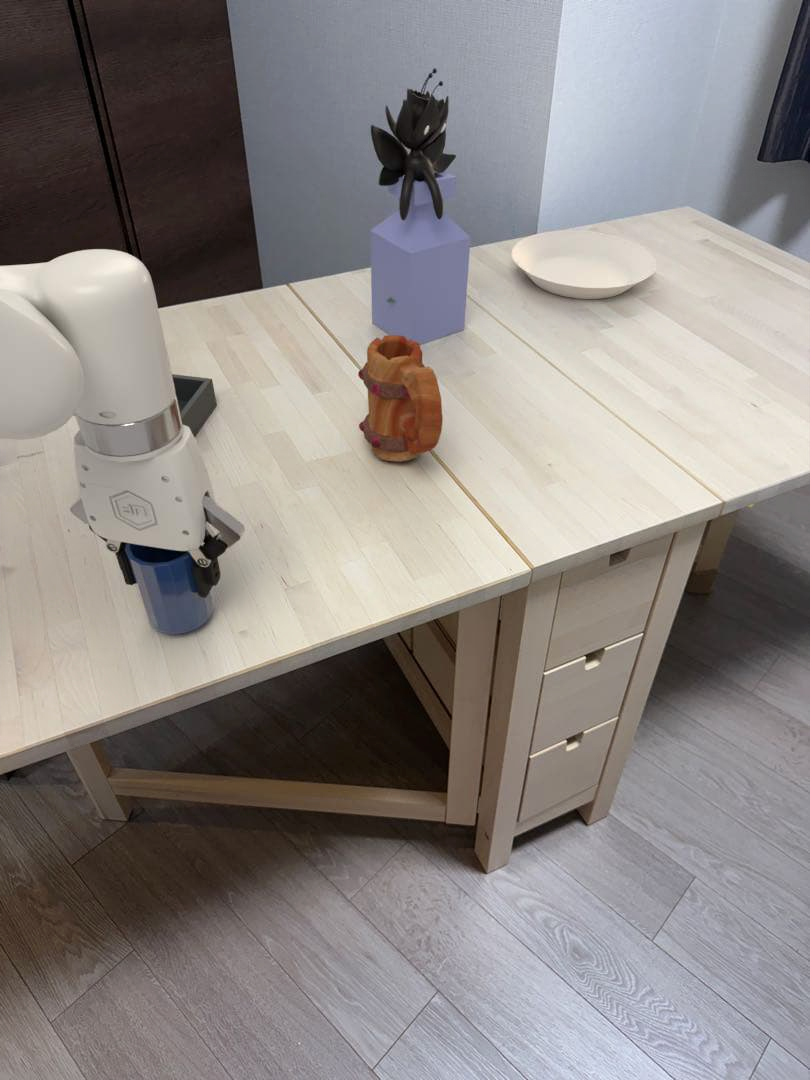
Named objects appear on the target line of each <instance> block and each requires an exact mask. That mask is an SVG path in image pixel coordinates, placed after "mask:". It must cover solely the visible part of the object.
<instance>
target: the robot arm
mask: <svg viewBox="0 0 810 1080" xmlns="http://www.w3.org/2000/svg"><path fill="white" fill-rule="evenodd" d="M160 315H161V314H160V311H159V306H158V301H157V296H156V292H155V287H154V283H153V280H152V276H151V274H150V272H149V270H148V268H147V267H146V265H145V264H144V263H143V261H141V260H140V259H139V258H137V256H134V255H132V254H130V253H128V252H125V251H121V250H117V249H108V248H94V249H93V248H91V249H82V250H76V251H72V252H68V253H66V254H62V255H60V256H57V257H55V258H53V259H52V260H49V261H47V262H38V263H28V264H11V265H0V439H4V440H14V441H15V440H16V441H22V440H33V439H37V438H41V437H44V436H47V435H50V434H52V433H54V432H56V431H57V430H59V429H60V428H61V427H63V426H65V425H66V424H67V423H68V422H69V421H70V420H71V419H72V417H75V419H76V422H77V425H78V428H79V430H77V432H76V434H74V438H73V441H74V442H73V449H74V467H75V473H76V479H77V485H78V489H79V493H80V496H79V497H78V498H77V499H76V501H75V502H74V503H73V504H72V505H71V507H69V511H70V512H71V514H72V515H73V516H75V517H76V518H77V519H79V521H81V522H83V524H85V525H88V528H89V530H90V531H91V532H92V533H94V534H95V535H96V536H97V537H99V538H100V539H101V540H103V541H104V542H105V547H106V549H107V551H109V552H110V553H115V557H116V559H117V563H118V565H119V569H120V571H121V574H122V576H123V579H124V582H125V585H127V586H134V585H136V584H135V581H134V577H133V574H132V571H131V568H130V565H129V561H128V558H127V555H126V552H125V545H126V543H131V544H137V545H143V546H150V547H156V548H163V549H169V550H177V551H188V552H189V553H190V555H191V556H192V557H193V559H194V560H195V562H194V564H193V566H192V571H193V575H194V580H195V584H196V588H197V592H198V595H199V596H200V597H204V598H206V597H207V596H208V594H209V592H210V590H211V589H213V587H216V586H217V585H218V583H219V581H220V579H221V568H220V564H219V559H218V558H219V557H220V556H221V555H223V554H225V552H226V550H228V549H229V548H231V547H232V546H233V545H235V544H236V543H237V542H238V541H240V539H241V538H242V536H243V534H244V532H245V531H246V527H245V525H244V524H242V522H240V521H239V520H238V519H236V518H235V517H234V516H233V515H231V514H230V513H229V512H228V511H227V510H225V509H224V508H223V507H222V506H220V505H219V504H217V503H216V498H215V494H214V490H213V485H212V482H211V478H210V476H209V475H210V474H209V472H208V468H207V465H206V462H205V460H204V457H203V454H202V451H201V449H200V447H199V445H198V443H197V440H196V438H195V437H194V436H193V434H192V432H191V430H190V428H189V427H188V426H185V425H183V424H182V420H181V416H180V411H179V406H178V401H177V397H176V392H175V387H174V382H173V377H172V374H173V373H172V367H171V363H170V358H169V354H168V349H167V348H168V347H167V343H166V339H165V334H164V330H163V324H162V320H161V316H160ZM210 525H211V526H212V527H213V528H214V529H215V530H217V531H218V533H217V534H215V532H214V530H213V529H212V528H211V526H210ZM201 544H202V545H201Z"/></svg>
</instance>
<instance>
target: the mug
mask: <svg viewBox="0 0 810 1080" xmlns="http://www.w3.org/2000/svg"><path fill="white" fill-rule="evenodd" d="M366 359H367V360H366V362H365V364H364V365H363V367H362V369H360V370H358V372H357V376H358V377H359V379H360V380H362V382H363V385H364V386H365V388H366V389H367V402H368V403H367V404H368V405H367V406H368V414H367V415H366V416H365V417H364V419H363V421H361V422H359V423H358V429H359V430H360V431H361V432H362V433H363V436H364V439H365V440H366V442H367V443H369V445H370V447H371V451H372V453H373V454H374V455H375V456H376V457H377V458H379V459H380V460H382V461H388V462H405V461H410V460H413V459H415V458H417V457H419V456H420V455H421V454H422V453H426V452H429V451H432V450H433V449H434V448H436V446H437V445H438V444H439V441H440V438H441V434H442V431H443V430H442V428H443V409H442V408H443V407H442V405H443V404H442V396H441V391H440V387H439V383H438V379H437V376H436V374H435V371H434V370H433V369H432V368H431V367H430V366H428V365H427V366H425V364H424V363H423V350H422V348H421V345H419V344H418V343H417V342H415V341H413V340H407V339H406V338H405V336H399V335H389V334H386V335H383V337H382V339H381V338H379V337H375V338H374V339H373V340H371V342H370V343H369V344H368V347H367V349H366Z"/></svg>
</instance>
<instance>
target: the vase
mask: <svg viewBox="0 0 810 1080" xmlns="http://www.w3.org/2000/svg"><path fill="white" fill-rule="evenodd" d="M437 72H438V70H437V68H436V67H435V68H433V69H432V72H429V73H428V74H427V75H428V76H427V77H426V79H425V80H424V83H423V85H422V87H421V91H418V90H417V89H413V88H406V98H405V99H403V100H402V105H401V108H400V111H399V113H398V116H397V119H396V121H395V120H394V117H393V116H392V114H391V112H390V108H389V107H388V105H385V109H384V110H385V111H384V112H385V117H386V120H387V124H388V127H389V129H390V131H391V133H392V134H391V133H390V132H388V131H386V130H385V129H383V128H381V127H378V126H375V125H374V124H371V125H370V136H371V141H372V145H373V149H374V151H375V154H376V157H377V160H378V161H379V162H380V164H381V165H382V166H383V167H382V168H381V170H380V173H379V176H378V177H379V178H378V185H379V186H381V187H387V193H388V194H391V195H393V196H395V197H397V198H398V209H397V210H396V211H394V212H393V213H392V214H390V215H389V216H388V217H386V218H385V219H383V220H382V221H381V222H380V223H379V224H378V223H377V225H376V226H374V227H373V228H372V229H370V230H369V231H370V233H369V234H370V237H369V238H370V282H371V286H370V287H371V289H370V290H371V323H372V324H373V325H375V326H376V327H378V328H379V329H381V330H382V331H383V332H385V333H386V334H387V335H399V336H405V338H406V339H407V340H413V341H415V342H417V343H418V344H419V345H420V346H421V345H424V344H426V343H430V342H432V341H435V340H438V339H442V338H444V337H448V336H450V335H454V334H457V333H459V332H463V331H464V330H465V320H466V310H467V309H466V306H467V293H468V282H469V281H468V280H469V279H468V278H469V267H470V266H469V265H470V252H471V251H470V250H471V239H472V238H471V236H470V235H469V234H467V232H465V231H464V230H463V229H462V227H460V226H459V225H458V224H457V223H456V222H454V221H453V220H452V219H451V217H449V216H448V215H447V214H446V213H445V212H444V200H445V199H450V198H453V197H456V190H457V189H456V187H457V176H456V175H453V174H452V173H449V172H447V171H446V170H447V169H448V168H449V167H450V165H451V164H452V163H453V162H454V161H455V159H456V157H457V155H456V154H454V153H444V150H445V147H446V138H447V128H446V126H447V121H448V117H449V112H450V111H449V110H450V99H449V98H450V97H449V95H447V96H446V97H445V99H444V98H441V99H437V98H436V97H435V96H434V95H433V94H434V92H435V90H436V89H437V88H438V87H443V86H444V82H443V81H442V80H439V82H438V84H437V85H436V86H435V87H434V89H433V90H432V92H431V94H430V91H429V90H427V91H426V88H427V84H428V83H429V80H430V79H432V78H433V76H434V75H435V74H436V73H437ZM433 74H434V75H433ZM425 91H426V92H425ZM407 149H408V150H409V151H410V152H409V151H408V150H407Z"/></svg>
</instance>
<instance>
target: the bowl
mask: <svg viewBox="0 0 810 1080" xmlns="http://www.w3.org/2000/svg"><path fill="white" fill-rule="evenodd" d="M511 258H512V260H513V261H514V263H515V264H516V266H517V267H519V269H522V271H523V272H524V273H525V274H526V275H527V276H528V278H529V279H530V280H531V281H532V282H533V283H534V284H535V285H536V286H537V287H538V288H540V289H542V290H545V291H546V292H547V293H550V294H554V295H557V296H561V297H564V298H570V299H578V300H602V299H608V298H609V299H610V298H613V297H616V296H619V295H621V294H623V293H625V292H626V291H628V290H630V289H631V288H632V287H634V286H636V285H637V284H639V283H641V282H643V281H645V280H646V279H649V277H651V276H652V275H653V274H654V273H655V272H656V270H657V267H658V266H657V263H658V262H657V259H656V258H655V256H654V255H653V254H652V253H651V252H650V251H649V250H648V249H646V248H645V247H643V246H642V245H640V244H638V243H636V242H633V241H631V240H629V239H626V238H623V237H620V236H617V235H613V234H609V233H603V232H597V231H590V230H576V229H575V230H573V229H569V230H568V229H566V230H562V229H561V230H552V231H551V230H550V231H544V232H539V233H535V234H532V235H529V236H527V237H524V238H523V239H521V240H519V241H518V242H517V243H516V244H515V245H514V246H513V248H512V250H511Z"/></svg>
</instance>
